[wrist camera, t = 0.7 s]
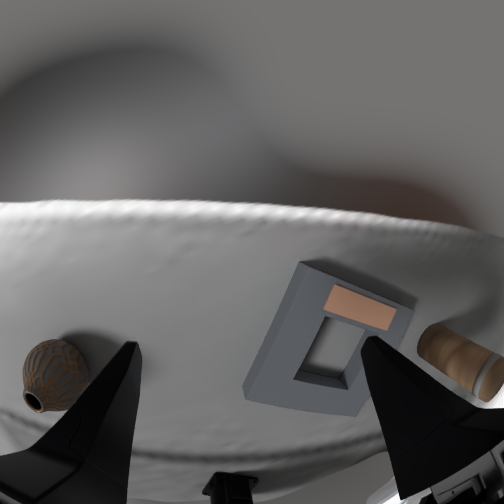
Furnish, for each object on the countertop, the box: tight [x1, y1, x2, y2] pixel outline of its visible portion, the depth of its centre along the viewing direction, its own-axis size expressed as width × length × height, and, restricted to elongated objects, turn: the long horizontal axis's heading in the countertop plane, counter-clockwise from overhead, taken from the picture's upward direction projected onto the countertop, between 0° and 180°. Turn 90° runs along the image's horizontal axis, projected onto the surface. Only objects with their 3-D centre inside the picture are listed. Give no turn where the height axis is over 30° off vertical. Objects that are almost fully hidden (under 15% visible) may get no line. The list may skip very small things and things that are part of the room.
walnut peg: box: [417, 324, 504, 402], centre depth 23 cm, size 5×5×13 cm
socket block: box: [242, 262, 414, 417], centre depth 26 cm, size 14×14×3 cm
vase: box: [23, 339, 89, 413], centre depth 19 cm, size 7×7×9 cm
